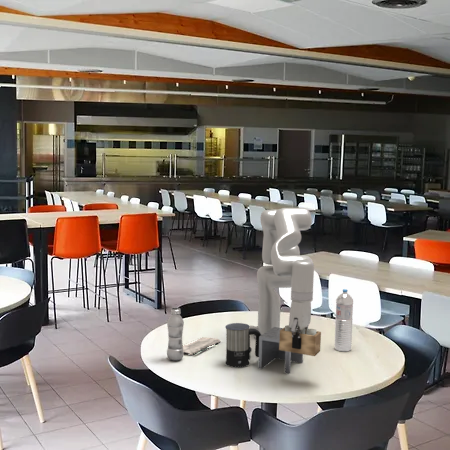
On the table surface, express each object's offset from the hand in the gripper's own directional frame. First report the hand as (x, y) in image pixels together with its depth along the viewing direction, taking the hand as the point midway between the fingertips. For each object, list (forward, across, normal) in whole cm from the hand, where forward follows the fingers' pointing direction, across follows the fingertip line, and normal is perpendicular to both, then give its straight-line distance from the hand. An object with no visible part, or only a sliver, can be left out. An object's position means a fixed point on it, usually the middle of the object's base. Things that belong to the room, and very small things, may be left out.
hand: (299, 345), depth 221 cm
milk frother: (+14, -9, -28) cm, 32 cm away
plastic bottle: (+14, +2, -49) cm, 51 cm away
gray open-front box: (+13, -12, -11) cm, 21 cm away
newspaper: (+15, -16, -49) cm, 54 cm away
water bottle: (+14, -43, +4) cm, 45 cm away
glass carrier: (+2, 0, 0) cm, 2 cm away
